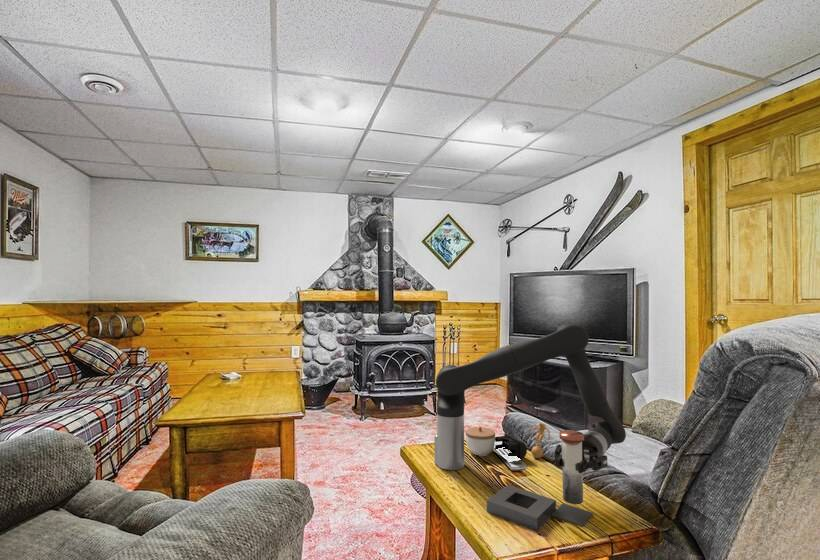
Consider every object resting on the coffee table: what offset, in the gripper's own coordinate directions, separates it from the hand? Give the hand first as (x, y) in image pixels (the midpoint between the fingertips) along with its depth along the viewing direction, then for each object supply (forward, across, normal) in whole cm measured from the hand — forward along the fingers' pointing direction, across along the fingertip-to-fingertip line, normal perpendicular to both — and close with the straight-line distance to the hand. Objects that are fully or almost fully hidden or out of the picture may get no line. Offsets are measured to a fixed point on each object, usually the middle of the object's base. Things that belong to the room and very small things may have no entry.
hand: (568, 466), depth 111 cm
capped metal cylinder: (-3, 0, +10) cm, 10 cm away
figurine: (-34, -23, +14) cm, 44 cm away
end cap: (-28, -31, +14) cm, 44 cm away
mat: (-2, 0, +14) cm, 14 cm away
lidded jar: (-24, -41, +14) cm, 50 cm away
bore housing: (+5, -11, +13) cm, 18 cm away
